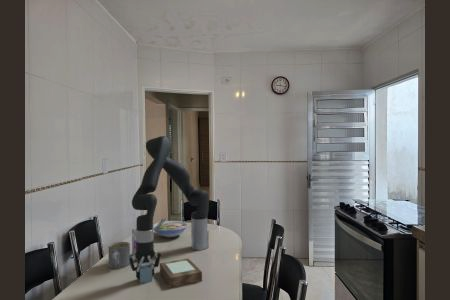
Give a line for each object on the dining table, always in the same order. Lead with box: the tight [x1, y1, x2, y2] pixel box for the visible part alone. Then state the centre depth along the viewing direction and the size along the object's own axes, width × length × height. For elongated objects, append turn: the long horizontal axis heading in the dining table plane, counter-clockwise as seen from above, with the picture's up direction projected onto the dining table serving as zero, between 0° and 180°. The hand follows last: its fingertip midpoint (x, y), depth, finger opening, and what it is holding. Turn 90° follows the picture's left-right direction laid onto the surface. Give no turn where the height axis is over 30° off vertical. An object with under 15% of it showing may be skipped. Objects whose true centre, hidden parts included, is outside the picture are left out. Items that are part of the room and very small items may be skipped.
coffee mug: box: [108, 241, 131, 270], centre depth 150 cm, size 13×10×10 cm
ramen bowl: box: [153, 218, 188, 239], centre depth 201 cm, size 25×23×8 cm
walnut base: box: [159, 258, 203, 288], centre depth 138 cm, size 14×18×4 cm
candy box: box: [131, 226, 138, 262], centre depth 164 cm, size 14×6×16 cm, turn 168°
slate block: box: [138, 263, 153, 284], centre depth 134 cm, size 5×5×6 cm
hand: (145, 277), depth 134 cm, fingers closed on slate block, 5 cm apart
